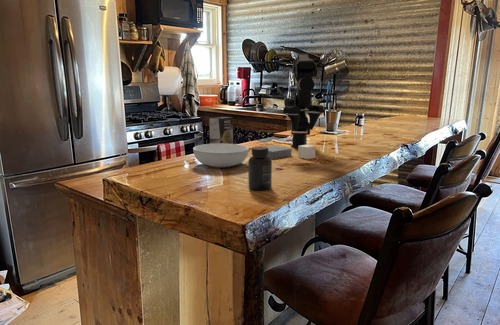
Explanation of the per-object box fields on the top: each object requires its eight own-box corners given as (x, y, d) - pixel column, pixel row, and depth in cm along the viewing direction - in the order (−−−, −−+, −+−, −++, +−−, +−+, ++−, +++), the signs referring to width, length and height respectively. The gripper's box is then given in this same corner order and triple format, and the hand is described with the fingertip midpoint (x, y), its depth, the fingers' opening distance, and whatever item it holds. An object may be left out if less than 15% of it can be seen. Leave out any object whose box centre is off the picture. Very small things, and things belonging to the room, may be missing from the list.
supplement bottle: (271, 184, 110) (271, 146, 108) (271, 191, 104) (272, 150, 101) (248, 184, 111) (248, 146, 108) (247, 191, 104) (247, 150, 101)
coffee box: (221, 156, 153) (220, 118, 150) (209, 155, 156) (208, 117, 153) (233, 153, 161) (233, 116, 157) (222, 151, 164) (221, 116, 160)
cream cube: (306, 156, 155) (306, 144, 153) (315, 157, 151) (315, 146, 150) (298, 157, 152) (298, 145, 150) (306, 159, 148) (307, 147, 147)
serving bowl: (242, 173, 125) (242, 153, 124) (185, 170, 129) (184, 151, 128) (253, 160, 145) (253, 143, 144) (204, 158, 149) (203, 142, 148)
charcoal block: (274, 152, 163) (274, 145, 162) (291, 156, 155) (291, 148, 154) (255, 155, 157) (255, 148, 156) (272, 160, 148) (272, 151, 147)
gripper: (305, 91, 158) (304, 127, 161) (274, 92, 146) (273, 130, 150) (325, 91, 149) (324, 129, 152) (293, 92, 138) (292, 133, 141)
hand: (303, 130), depth 149 cm, fingers open, 9 cm apart
